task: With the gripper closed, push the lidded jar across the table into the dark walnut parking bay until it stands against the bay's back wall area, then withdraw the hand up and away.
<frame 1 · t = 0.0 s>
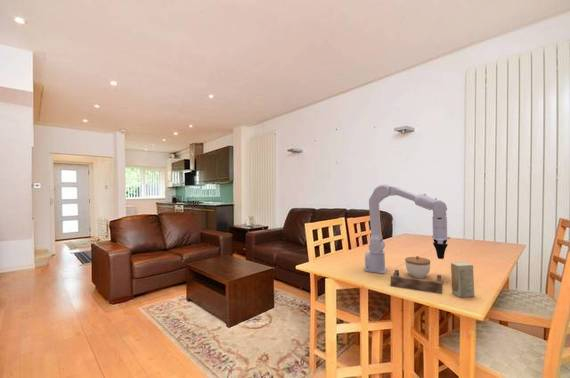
hand: (440, 256, 121), 10 cm above the table, tool pointing down, fingers open, 7 cm apart
lidded jar: (417, 276, 125), on the table
parking bay: (416, 283, 116), on the table
skincare box: (462, 295, 103), on the table
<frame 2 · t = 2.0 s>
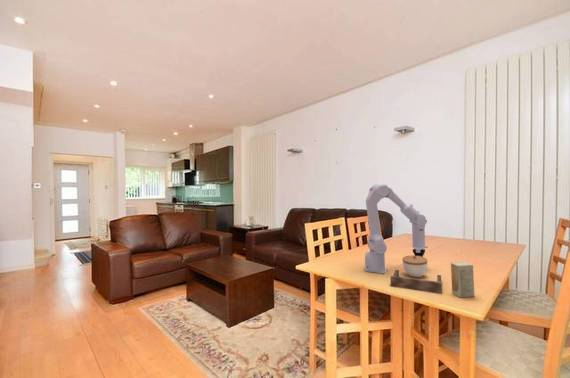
hand: (419, 263, 136), 3 cm above the table, tool pointing down, fingers closed
lidded jar: (415, 275, 126), on the table
everything else where it was.
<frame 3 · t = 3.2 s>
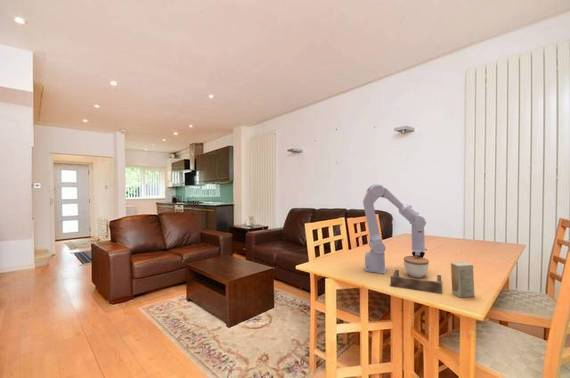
hand: (418, 266, 132), 2 cm above the table, tool pointing down, fingers closed
lidded jar: (415, 275, 126), on the table, touching gripper
everything else where it was.
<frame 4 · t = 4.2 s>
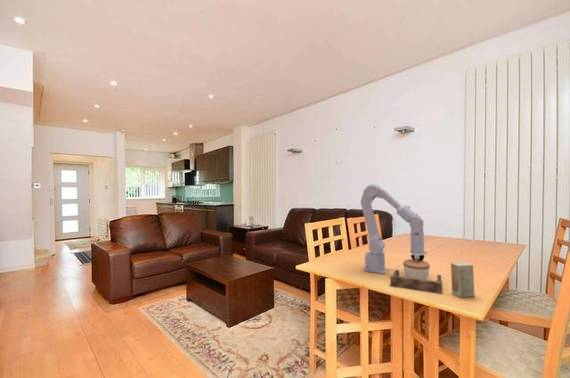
hand: (418, 270, 126), 2 cm above the table, tool pointing down, fingers closed
lidded jar: (416, 280, 120), on the table, touching gripper
everything else where it was.
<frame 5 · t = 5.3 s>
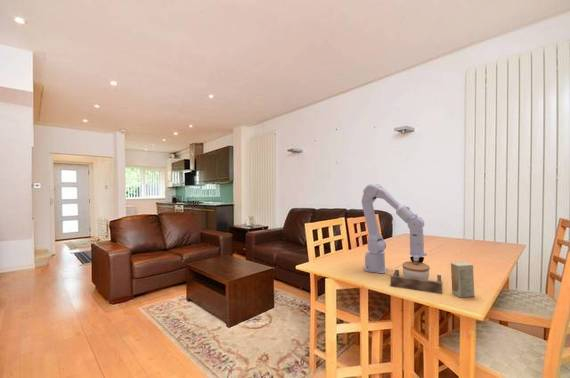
hand: (417, 272, 122), 2 cm above the table, tool pointing down, fingers closed
lidded jar: (415, 282, 117), on the table, touching gripper
everything else where it was.
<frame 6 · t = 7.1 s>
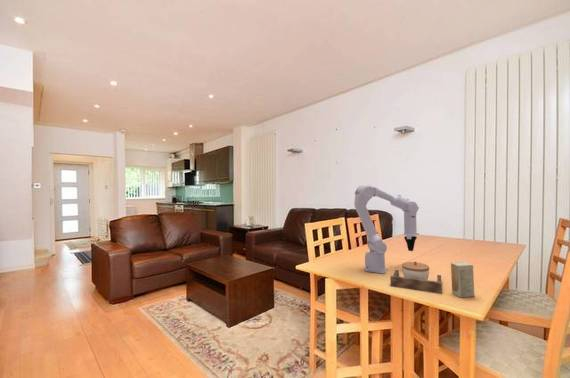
hand: (410, 250, 136), 9 cm above the table, tool pointing down, fingers closed
lidded jar: (415, 283, 117), on the table
everything else where it was.
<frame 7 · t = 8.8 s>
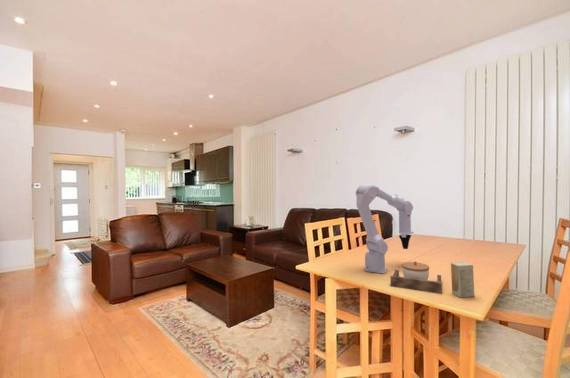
hand: (405, 248, 141), 9 cm above the table, tool pointing down, fingers closed
nothing on the table moved.
at the end: lidded jar 1.1 cm from the target spot, on the table; lidded jar tilted 0°; the gripper is holding nothing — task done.
